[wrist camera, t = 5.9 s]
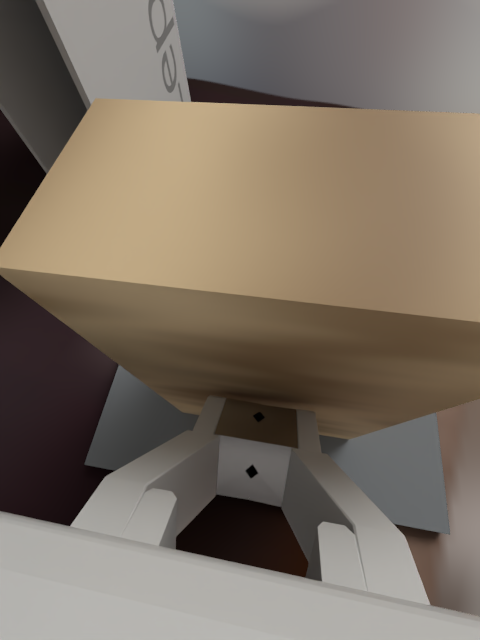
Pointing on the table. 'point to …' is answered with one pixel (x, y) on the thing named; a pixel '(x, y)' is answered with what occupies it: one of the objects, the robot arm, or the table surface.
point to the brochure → (83, 63)
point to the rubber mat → (349, 454)
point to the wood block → (267, 255)
